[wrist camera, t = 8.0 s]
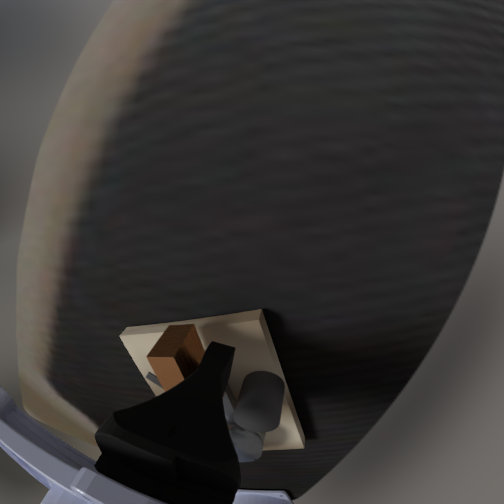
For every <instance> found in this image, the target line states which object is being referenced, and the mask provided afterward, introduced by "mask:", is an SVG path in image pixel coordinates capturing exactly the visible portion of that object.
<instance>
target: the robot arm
mask: <svg viewBox="0 0 504 504" xmlns="http://www.w3.org/2000/svg"><path fill="white" fill-rule="evenodd" d="M235 349H236V347H232V346H228V345H225V344H221V343H218V342H214V341H212V342H211V343H210V344H209V346H208V347H207V349H206V351H205V353H204V355H203V358H202V360H201V363H200V365H199V368H198V369H197V370H196V371H195V372H193V373H192V374H191V375H189V376H188V377H187V378H186V379H184V380H183V381H182V382H180V383H179V384H177V385H176V386H174V387H172V388H171V389H169V390H168V391H166V392H164V393H162V394H160V395H158V396H156V397H154V398H152V399H150V400H148V401H145V402H143V403H140V404H138V405H135V406H132V407H129V408H126V409H122V410H119V411H115V412H113V413H111V414H110V415H109V416H108V418H107V419H106V420H105V421H104V422H103V423H102V425H101V426H100V427H99V429H98V430H97V432H96V433H95V440H96V442H97V444H98V446H99V448H100V450H101V452H102V454H101V456H100V457H99V459H98V461H95V460H93V459H91V458H90V457H88V456H86V455H84V454H83V453H81V452H80V451H78V450H76V449H75V448H73V447H72V446H70V445H68V444H67V443H65V442H64V441H62V440H61V439H59V438H58V437H56V436H55V435H53V434H52V433H51V432H49V431H48V430H47V429H45V428H44V427H42V426H41V425H40V424H38V423H37V422H36V421H34V420H33V419H32V418H31V417H29V416H28V415H27V414H26V413H24V412H23V411H22V410H21V409H20V408H18V407H17V406H16V404H15V402H14V400H13V399H12V397H11V396H10V395H9V394H8V393H7V392H6V391H5V390H4V389H3V388H2V387H1V386H0V447H1V448H2V449H3V450H5V452H7V453H8V454H9V455H10V456H11V457H12V458H13V459H14V460H15V461H16V462H17V463H18V464H20V465H21V466H22V467H23V468H24V469H25V470H26V471H28V472H29V473H30V474H31V475H32V476H34V477H35V478H36V479H37V480H38V481H40V482H41V483H42V484H44V485H45V486H46V487H47V488H49V489H50V490H49V492H48V493H47V494H46V496H45V497H44V499H43V501H42V502H41V504H294V503H293V502H292V500H291V499H290V497H289V496H288V494H287V493H286V492H285V491H267V490H242V489H239V487H240V484H241V473H240V466H239V460H238V455H237V452H236V450H235V447H234V445H233V442H232V439H231V436H230V433H229V429H228V425H227V421H226V417H225V411H224V405H223V398H222V397H223V395H224V393H225V390H226V387H227V384H228V381H229V377H230V373H231V368H232V363H233V358H234V353H235Z"/></svg>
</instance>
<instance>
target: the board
mask: <svg viewBox="0 0 504 504" xmlns="http://www.w3.org/2000/svg"><path fill="white" fill-rule="evenodd" d="M182 324H194V325H195V327H196V330H197V332H198V335H199V337H200V340H201V343H202V345H203V348H204V350H205V351H206V349H207V347H208V346H209V344H210V343H211V342H212V341H214V342H218V343H221V344H225V345H228V346H232V347H236V349H235V353H234V358H233V363H232V368H231V373H230V377H229V381H228V383H229V385H230V388H231V390H232V393H233V395H234V397H235V400H236V402H237V400H238V397H239V394H240V390H241V387H242V383H243V380H244V378H245V377H246V376H247V375H248V374H249V373H252V372H255V371H268V372H271V373H274V374H276V375H278V376H279V377H280V378H281V379H282V380H283V381H284V383H285V391H284V398H283V405H282V412H281V419H280V424H279V426H278V427H277V428H276V429H275V430H273V431H269V432H266V435H265V440H264V445H263V450H283V449H299V448H304V445H305V436H304V433H303V430H302V427H301V424H300V421H299V419H298V416H297V413H296V410H295V407H294V404H293V401H292V398H291V395H290V392H289V389H288V386H287V383H286V380H285V377H284V374H283V371H282V368H281V365H280V362H279V359H278V356H277V353H276V350H275V347H274V344H273V341H272V338H271V335H270V332H269V329H268V326H267V323H266V320H265V317H264V314H263V311H262V309H258V310H252V311H246V312H240V313H234V314H228V315H221V316H214V317H207V318H200V319H193V320H186V321H178V322H170V323H162V324H153V325H144V326H135V327H127V328H126V329H125V330H124V331H123V332H122V334H121V335H120V338H121V339H122V341H123V343H124V345H125V347H126V348H127V350H128V352H129V353H130V355H131V357H132V358H133V360H134V362H135V363H136V365H137V367H138V368H139V370H140V372H141V373H142V375H143V376H144V378H145V379H146V381H147V383H148V384H149V386H150V387H151V389H152V390H153V392H154V393H155V395H156V396H158V395H160V394H162V393H164V392H165V390H164V389H163V387H162V385H161V383H160V382H159V380H158V378H157V376H156V374H155V373H154V371H153V369H152V367H151V365H150V363H149V361H148V359H147V358H146V356H147V355H148V353H149V352H150V351H151V349H152V348H153V346H154V345H155V344H156V342H157V341H158V340H159V338H160V337H161V335H162V334H163V333H164V331H165V330H166V329H167V327H168V326H169V325H182Z"/></svg>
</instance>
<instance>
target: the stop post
mask: <svg viewBox="0 0 504 504" xmlns="http://www.w3.org/2000/svg"><path fill="white" fill-rule="evenodd" d="M284 391H285V383H284V381H283V380H282V379H281V378H280V377H279V376H278V375H276V374H274V373H271V372H268V371H255V372H252V373H249V374H248V375H247V376H246V377H245V378H244V380H243V383H242V387H241V390H240V394H239V397H238V400H237V404H236V407H235V410H234V413H233V419H234V421H235V422H236V423H237V424H238V425H239V426H240V427H242V428H244V429H246V430H249V431H253V432H269V431H273V430H275V429H276V428H277V427H278V426H279V424H280V419H281V412H282V405H283V398H284Z"/></svg>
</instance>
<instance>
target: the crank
mask: <svg viewBox="0 0 504 504" xmlns="http://www.w3.org/2000/svg"><path fill="white" fill-rule="evenodd" d="M204 353H205V350H204V348H203V345H202V343H201V340H200V337H199V335H198V332H197V330H196V327H195V325H194V324H182V325H169V326H168V327H167V329H166V330H165V331H164V333H163V334H162V335H161V337H160V338H159V340H158V341H157V342H156V344H155V345H154V346H153V348H152V349H151V351H150V352H149V353H148V355H147V356H146V358H147V359H148V361H149V363H150V365H151V367H152V369H153V371H154V373H155V374H156V376H157V378H158V380H159V382H160V383H161V385H162V387H163V389H164V390H165V392H166V391H168V390H169V389H171V388H172V387H174V386H176V385H177V384H179V383H180V382H182V381H183V380H184V379H186V378H187V377H188V376H189V375H191V374H192V373H193V372H195V371H196V370H197V369H198V368H199V365H200V363H201V360H202V358H203V355H204ZM222 398H223V405H224V411H225V417H226V421H227V425H228V429H229V433H230V436H231V439H232V442H233V445H234V447H235V450H236V452H237V455H238V460H239V462H250V461H254V460H256V459H258V458H259V457H260V456H261V454H262V450H263V445H264V440H265V435H266V432H253V431H249V430H246V429H244V428H242V427H240V426H239V425H238V424H237V423H236V422H235V421H234V419H233V413H234V410H235V407H236V404H237V402H236V400H235V397H234V395H233V393H232V390H231V388H230V385H229V383H228V384H227V387H226V390H225V393H224V395H223V397H222Z"/></svg>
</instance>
